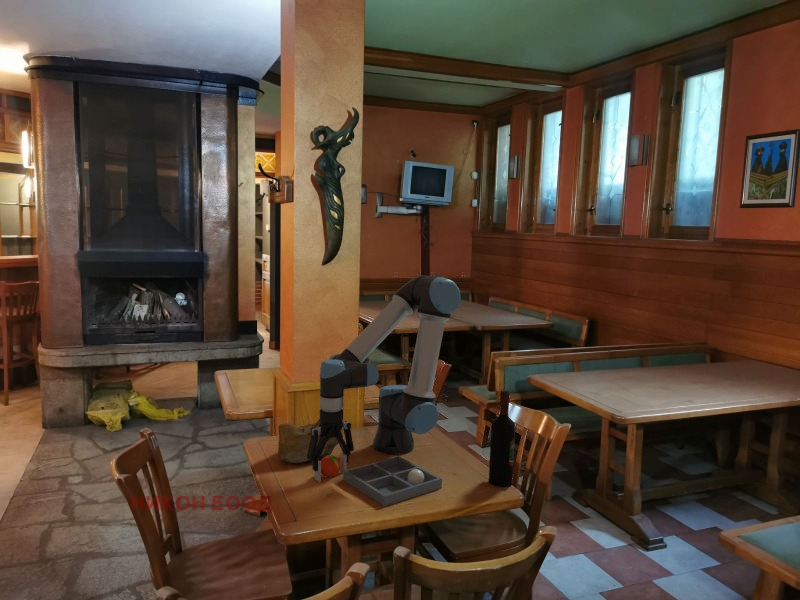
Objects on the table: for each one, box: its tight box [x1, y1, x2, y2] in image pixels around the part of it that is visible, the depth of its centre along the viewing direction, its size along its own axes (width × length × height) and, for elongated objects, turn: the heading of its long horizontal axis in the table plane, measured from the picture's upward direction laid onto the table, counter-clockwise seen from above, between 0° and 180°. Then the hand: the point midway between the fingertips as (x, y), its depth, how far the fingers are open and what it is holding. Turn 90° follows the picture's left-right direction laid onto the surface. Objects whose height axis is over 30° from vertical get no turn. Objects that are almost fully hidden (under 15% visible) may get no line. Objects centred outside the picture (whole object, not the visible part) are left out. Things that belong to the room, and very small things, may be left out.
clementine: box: [320, 454, 341, 478], centre depth 192 cm, size 8×7×7 cm
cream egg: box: [408, 469, 424, 485], centre depth 186 cm, size 5×5×5 cm
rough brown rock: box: [277, 418, 344, 464], centre depth 211 cm, size 23×17×15 cm
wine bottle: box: [488, 390, 516, 488], centre depth 191 cm, size 8×8×30 cm
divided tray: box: [342, 455, 443, 507], centre depth 187 cm, size 22×22×4 cm
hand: (330, 476), depth 193 cm, fingers open, 9 cm apart
